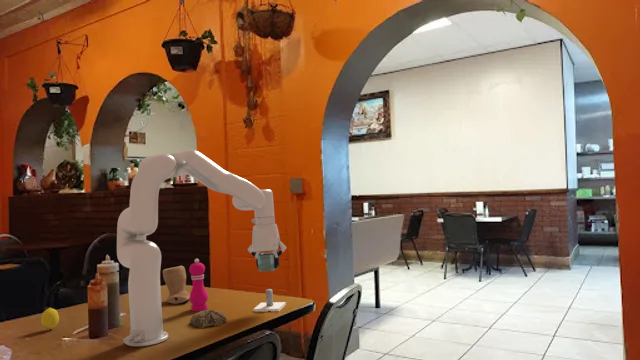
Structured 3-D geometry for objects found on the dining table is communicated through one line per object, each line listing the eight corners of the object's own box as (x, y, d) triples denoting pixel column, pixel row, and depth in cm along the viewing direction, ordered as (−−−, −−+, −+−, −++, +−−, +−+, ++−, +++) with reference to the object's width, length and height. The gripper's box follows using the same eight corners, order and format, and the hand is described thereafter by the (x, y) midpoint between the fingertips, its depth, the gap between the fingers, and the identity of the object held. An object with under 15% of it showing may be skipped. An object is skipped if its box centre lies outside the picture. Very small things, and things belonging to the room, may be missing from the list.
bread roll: (188, 322, 169) (187, 308, 169) (222, 316, 174) (221, 303, 174) (196, 331, 157) (195, 316, 157) (232, 324, 163) (231, 309, 163)
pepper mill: (211, 306, 190) (208, 256, 190) (205, 311, 183) (202, 259, 183) (193, 307, 190) (191, 257, 191) (187, 312, 183) (184, 260, 184)
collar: (273, 270, 178) (272, 255, 178) (258, 271, 179) (257, 255, 179) (277, 267, 184) (276, 252, 184) (263, 268, 185) (262, 253, 185)
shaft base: (279, 311, 175) (277, 292, 176) (253, 311, 177) (252, 293, 177) (285, 304, 185) (284, 286, 185) (261, 305, 187) (260, 287, 187)
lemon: (39, 333, 166) (38, 310, 166) (44, 329, 171) (43, 306, 171) (57, 331, 167) (56, 308, 167) (61, 326, 172) (60, 305, 173)
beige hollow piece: (168, 298, 211) (166, 264, 212) (195, 296, 212) (193, 262, 213) (158, 306, 196) (157, 270, 197) (187, 304, 197) (185, 268, 197)
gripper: (240, 223, 180) (243, 270, 180) (284, 221, 177) (287, 269, 177) (246, 221, 187) (250, 267, 187) (289, 219, 184) (292, 265, 184)
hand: (268, 267), depth 182 cm, fingers closed on collar, 6 cm apart
